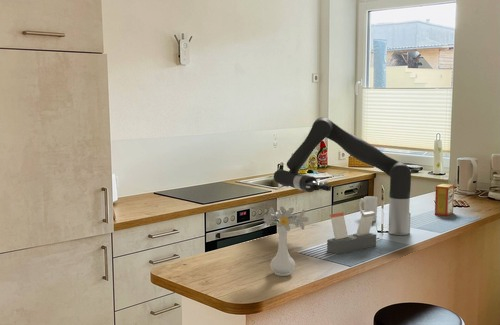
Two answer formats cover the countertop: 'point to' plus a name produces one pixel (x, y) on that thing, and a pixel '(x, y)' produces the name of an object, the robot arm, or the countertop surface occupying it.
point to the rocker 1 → (339, 225)
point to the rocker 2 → (365, 223)
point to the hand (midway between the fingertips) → (329, 188)
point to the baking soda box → (444, 199)
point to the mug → (369, 205)
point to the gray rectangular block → (351, 243)
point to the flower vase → (283, 237)
